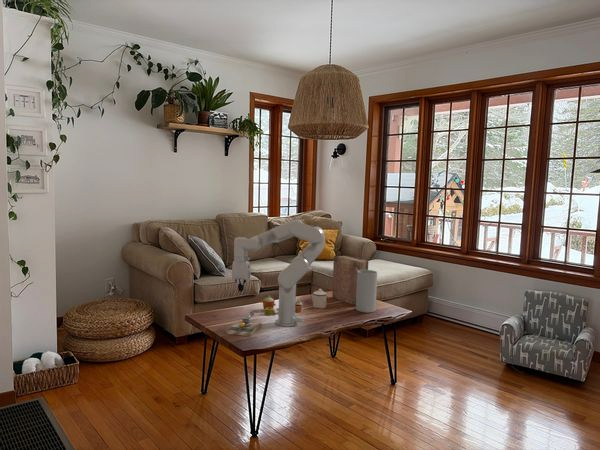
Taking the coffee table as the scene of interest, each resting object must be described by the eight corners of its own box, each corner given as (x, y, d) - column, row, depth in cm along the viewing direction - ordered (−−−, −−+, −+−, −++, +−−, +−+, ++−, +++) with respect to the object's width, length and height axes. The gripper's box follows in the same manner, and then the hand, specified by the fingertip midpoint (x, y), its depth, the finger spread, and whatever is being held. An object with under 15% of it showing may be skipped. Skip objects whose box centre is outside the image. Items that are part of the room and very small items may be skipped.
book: (366, 304, 310) (368, 260, 307) (356, 306, 304) (358, 261, 301) (342, 296, 330) (343, 254, 327) (332, 297, 325) (333, 255, 322)
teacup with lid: (329, 306, 301) (329, 289, 300) (320, 309, 294) (321, 291, 293) (314, 303, 309) (315, 286, 308) (306, 305, 302) (306, 288, 301)
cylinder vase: (366, 314, 287) (368, 274, 285) (351, 309, 296) (353, 271, 294) (379, 310, 295) (381, 272, 293) (364, 306, 305) (366, 269, 302)
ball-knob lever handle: (246, 330, 243) (246, 322, 243) (235, 329, 244) (235, 321, 243) (257, 317, 266) (257, 310, 265) (247, 316, 267) (247, 309, 266)
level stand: (261, 325, 257) (261, 322, 257) (250, 336, 240) (250, 332, 240) (237, 323, 260) (237, 320, 260) (225, 333, 243) (225, 329, 243)
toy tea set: (265, 316, 276) (265, 300, 275) (257, 309, 290) (258, 294, 289) (305, 313, 286) (306, 298, 285) (296, 306, 300) (296, 292, 299)
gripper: (255, 258, 263) (255, 290, 265) (230, 257, 267) (230, 288, 268) (251, 260, 256) (251, 293, 258) (226, 259, 259) (226, 291, 261)
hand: (240, 291), depth 263 cm, fingers closed
